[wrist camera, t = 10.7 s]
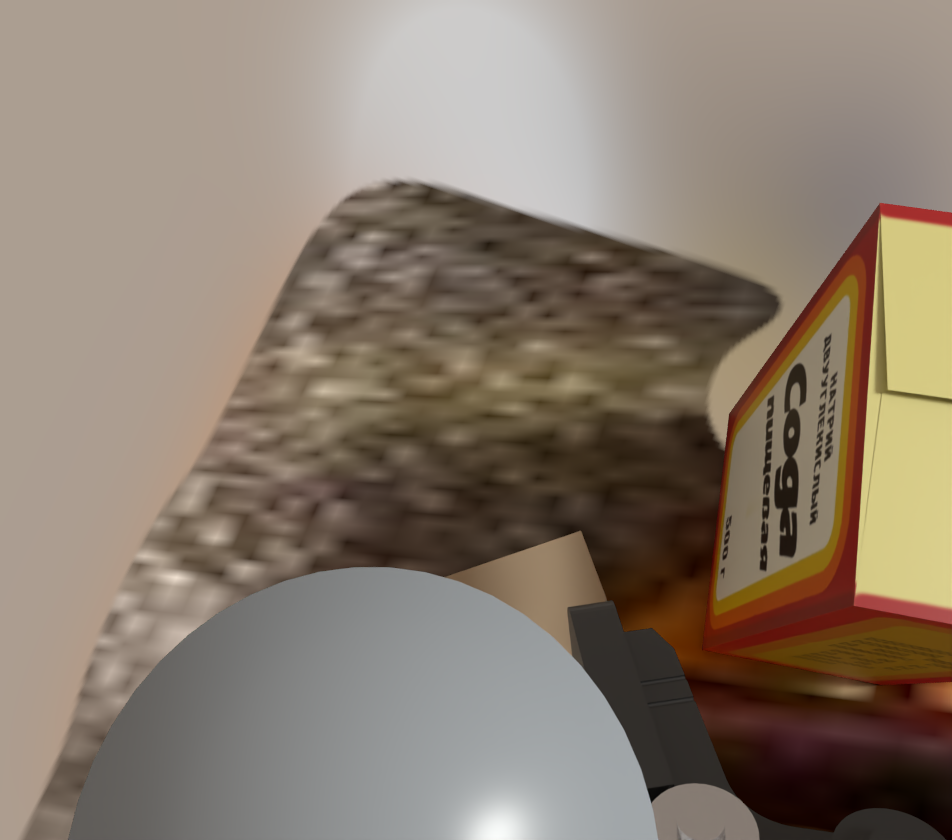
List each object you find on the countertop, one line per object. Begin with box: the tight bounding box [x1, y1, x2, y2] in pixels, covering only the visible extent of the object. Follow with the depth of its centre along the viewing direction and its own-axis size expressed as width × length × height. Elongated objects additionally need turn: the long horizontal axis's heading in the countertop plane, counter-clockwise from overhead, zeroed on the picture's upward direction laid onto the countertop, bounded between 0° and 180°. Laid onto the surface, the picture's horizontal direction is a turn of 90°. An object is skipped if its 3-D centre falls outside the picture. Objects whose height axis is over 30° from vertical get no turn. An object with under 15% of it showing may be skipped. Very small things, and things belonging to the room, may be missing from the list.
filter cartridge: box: [68, 567, 658, 840], centre depth 13 cm, size 5×5×12 cm
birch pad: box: [445, 531, 607, 656], centre depth 31 cm, size 12×12×1 cm
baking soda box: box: [702, 203, 952, 685], centre depth 26 cm, size 10×6×16 cm
